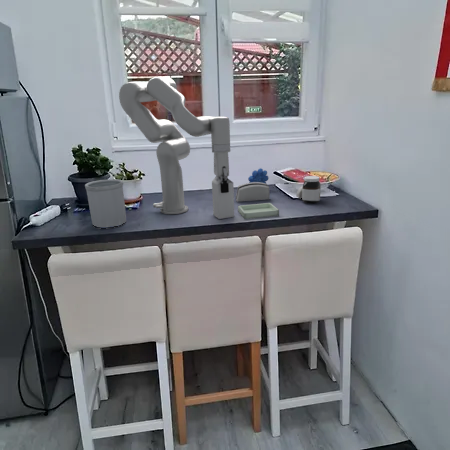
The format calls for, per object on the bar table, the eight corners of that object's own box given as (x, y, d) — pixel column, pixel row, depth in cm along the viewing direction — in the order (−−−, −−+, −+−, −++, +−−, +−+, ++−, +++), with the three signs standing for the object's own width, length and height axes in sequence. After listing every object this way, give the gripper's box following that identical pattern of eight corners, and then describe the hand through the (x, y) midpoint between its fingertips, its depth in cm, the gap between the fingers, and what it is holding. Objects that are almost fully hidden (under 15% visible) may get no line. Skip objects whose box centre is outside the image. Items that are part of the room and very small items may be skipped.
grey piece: (267, 196, 196) (269, 179, 190) (269, 201, 192) (271, 184, 186) (234, 199, 194) (235, 181, 188) (236, 204, 190) (237, 187, 184)
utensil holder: (89, 221, 168) (83, 181, 163) (124, 216, 174) (119, 177, 168) (93, 231, 155) (86, 188, 150) (130, 225, 161) (125, 183, 155)
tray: (244, 219, 163) (244, 213, 162) (238, 211, 174) (237, 205, 174) (279, 215, 166) (279, 210, 165) (270, 208, 177) (270, 202, 176)
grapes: (265, 188, 213) (265, 166, 209) (270, 190, 207) (270, 168, 203) (245, 190, 210) (244, 168, 206) (249, 193, 204) (249, 170, 200)
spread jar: (316, 205, 179) (317, 180, 175) (292, 203, 183) (293, 178, 180) (322, 198, 189) (323, 174, 185) (299, 196, 194) (300, 173, 190)
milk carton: (228, 212, 173) (226, 170, 166) (234, 217, 166) (233, 173, 160) (213, 215, 170) (211, 171, 164) (218, 219, 164) (216, 174, 158)
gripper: (208, 146, 166) (210, 186, 172) (215, 151, 150) (217, 196, 156) (225, 144, 168) (227, 185, 173) (234, 150, 152) (236, 194, 157)
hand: (222, 190), depth 165 cm, fingers closed on milk carton, 7 cm apart
